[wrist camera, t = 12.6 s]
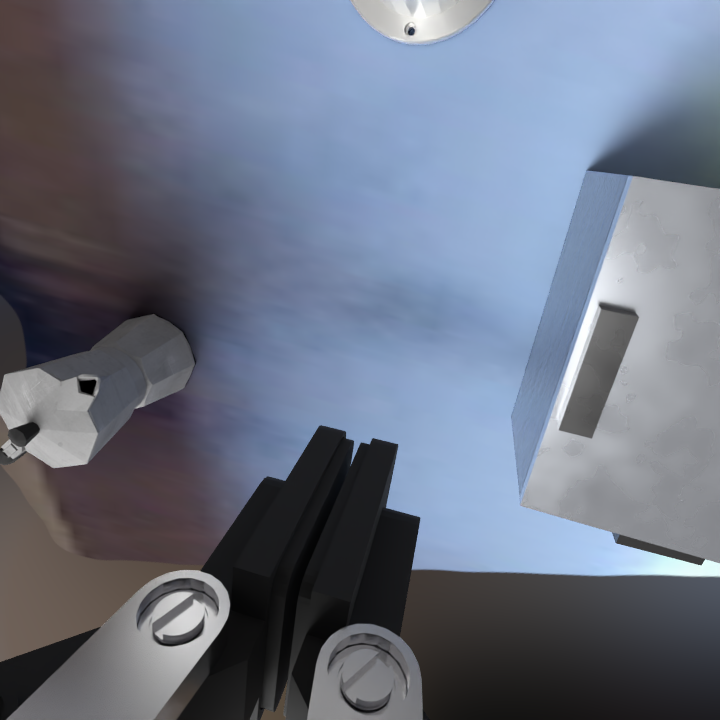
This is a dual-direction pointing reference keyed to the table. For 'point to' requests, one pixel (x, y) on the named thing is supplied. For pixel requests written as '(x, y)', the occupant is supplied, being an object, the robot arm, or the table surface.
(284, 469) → the table surface
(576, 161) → the table surface
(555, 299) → the grey metal box
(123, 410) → the coffeepot
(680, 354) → the cooker lid
